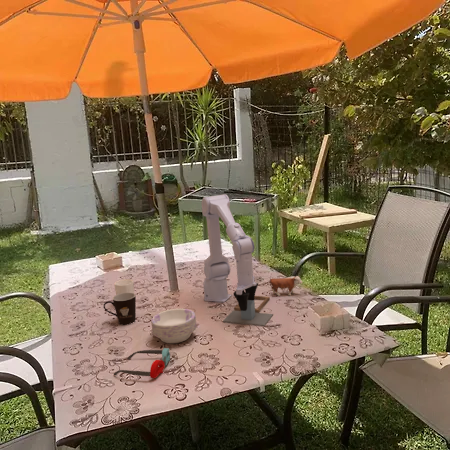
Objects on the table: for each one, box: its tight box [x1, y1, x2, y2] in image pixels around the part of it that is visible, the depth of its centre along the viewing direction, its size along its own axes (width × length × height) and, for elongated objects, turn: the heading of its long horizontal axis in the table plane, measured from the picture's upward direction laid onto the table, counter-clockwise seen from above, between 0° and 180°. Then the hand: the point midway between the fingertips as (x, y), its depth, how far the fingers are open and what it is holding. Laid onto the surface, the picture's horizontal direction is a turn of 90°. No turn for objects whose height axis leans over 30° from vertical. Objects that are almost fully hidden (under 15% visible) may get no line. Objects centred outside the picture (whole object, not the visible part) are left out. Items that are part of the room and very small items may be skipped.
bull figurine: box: [269, 275, 303, 297], centre depth 194 cm, size 4×13×8 cm, turn 78°
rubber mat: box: [222, 310, 274, 327], centre depth 174 cm, size 16×10×1 cm, turn 67°
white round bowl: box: [150, 308, 198, 344], centre depth 162 cm, size 15×15×8 cm
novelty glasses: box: [113, 347, 171, 379], centre depth 143 cm, size 14×15×5 cm
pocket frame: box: [233, 295, 271, 313], centre depth 186 cm, size 10×14×1 cm
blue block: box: [241, 299, 256, 320], centre depth 173 cm, size 4×4×6 cm
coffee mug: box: [102, 292, 137, 326], centre depth 179 cm, size 12×9×10 cm
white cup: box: [113, 278, 135, 295], centre depth 196 cm, size 8×8×10 cm
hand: (247, 306), depth 173 cm, fingers open, 7 cm apart
